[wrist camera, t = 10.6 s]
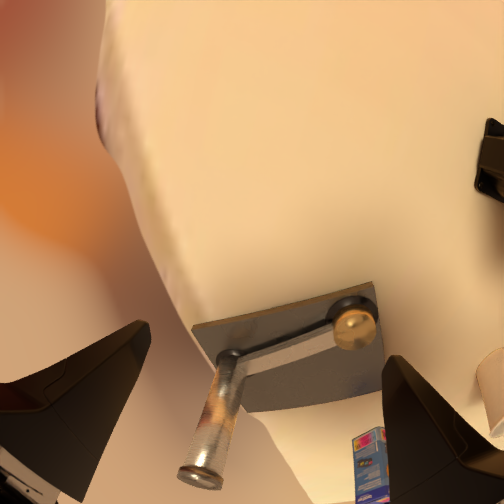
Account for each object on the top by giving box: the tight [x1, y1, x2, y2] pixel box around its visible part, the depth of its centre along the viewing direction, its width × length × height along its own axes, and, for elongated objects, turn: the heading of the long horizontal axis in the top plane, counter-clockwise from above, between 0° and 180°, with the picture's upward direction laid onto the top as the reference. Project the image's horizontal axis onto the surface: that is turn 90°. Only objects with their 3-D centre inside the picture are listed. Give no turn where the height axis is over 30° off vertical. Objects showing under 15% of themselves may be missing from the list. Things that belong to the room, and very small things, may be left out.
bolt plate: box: [191, 282, 385, 413], centre depth 26 cm, size 14×17×1 cm
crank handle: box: [177, 304, 376, 490], centre depth 18 cm, size 16×4×13 cm, turn 123°
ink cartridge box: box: [352, 427, 390, 504], centre depth 25 cm, size 10×6×14 cm, turn 57°
